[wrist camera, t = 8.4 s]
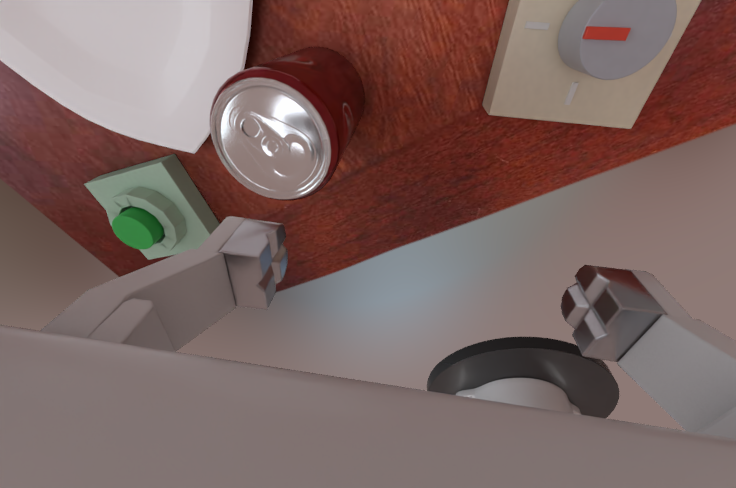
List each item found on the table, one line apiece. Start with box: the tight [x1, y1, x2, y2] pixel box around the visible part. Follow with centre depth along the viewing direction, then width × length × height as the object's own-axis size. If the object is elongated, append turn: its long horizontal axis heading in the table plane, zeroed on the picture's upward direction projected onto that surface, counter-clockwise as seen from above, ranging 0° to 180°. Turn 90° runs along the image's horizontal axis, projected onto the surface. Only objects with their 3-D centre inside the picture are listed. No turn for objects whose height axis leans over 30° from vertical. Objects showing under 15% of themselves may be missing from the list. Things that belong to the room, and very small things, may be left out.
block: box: [84, 154, 220, 259], centre depth 34 cm, size 10×10×4 cm
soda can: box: [210, 47, 365, 200], centre depth 22 cm, size 7×7×12 cm
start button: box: [112, 207, 164, 249], centre depth 32 cm, size 4×4×2 cm
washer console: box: [482, 0, 701, 129], centre depth 21 cm, size 11×10×3 cm
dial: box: [558, 0, 677, 80], centre depth 18 cm, size 4×4×4 cm
